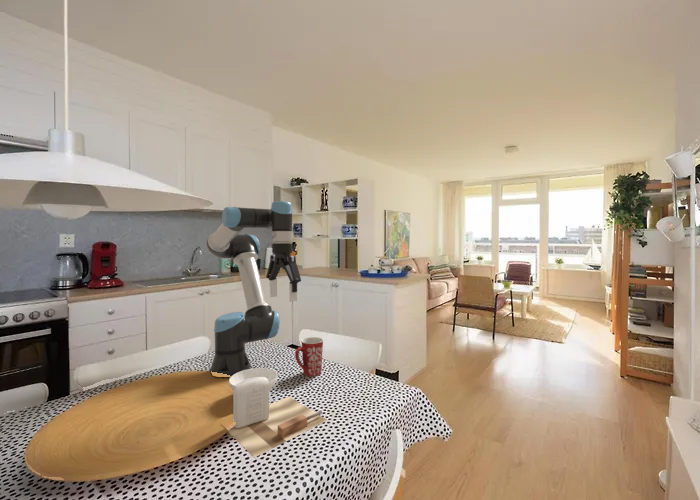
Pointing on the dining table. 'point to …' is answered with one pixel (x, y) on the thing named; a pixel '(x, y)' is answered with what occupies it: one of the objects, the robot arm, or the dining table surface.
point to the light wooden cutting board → (273, 427)
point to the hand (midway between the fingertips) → (283, 298)
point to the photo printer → (251, 401)
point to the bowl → (253, 373)
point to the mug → (311, 355)
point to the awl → (294, 424)
